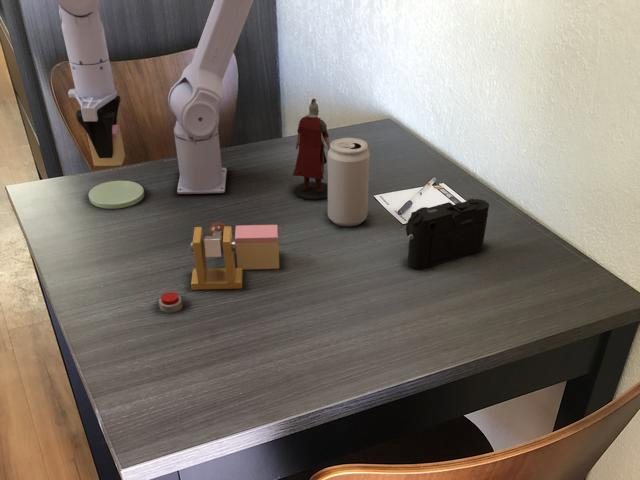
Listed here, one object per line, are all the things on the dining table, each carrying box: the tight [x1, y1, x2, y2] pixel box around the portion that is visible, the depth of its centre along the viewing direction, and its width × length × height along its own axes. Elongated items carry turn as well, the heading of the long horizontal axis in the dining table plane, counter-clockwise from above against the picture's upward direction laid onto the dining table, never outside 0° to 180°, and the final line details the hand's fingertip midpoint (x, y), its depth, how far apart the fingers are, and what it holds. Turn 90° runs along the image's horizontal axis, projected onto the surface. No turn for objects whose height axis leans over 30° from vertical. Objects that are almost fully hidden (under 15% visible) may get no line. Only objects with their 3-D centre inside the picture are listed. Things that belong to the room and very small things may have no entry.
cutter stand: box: [190, 225, 244, 291], centre depth 101 cm, size 4×7×7 cm, turn 94°
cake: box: [234, 224, 280, 271], centre depth 106 cm, size 4×6×5 cm, turn 94°
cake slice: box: [86, 124, 126, 167], centre depth 116 cm, size 4×4×5 cm
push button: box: [158, 291, 183, 314], centre depth 98 cm, size 3×3×2 cm
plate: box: [88, 180, 145, 210], centre depth 122 cm, size 9×9×1 cm
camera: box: [405, 198, 490, 270], centre depth 108 cm, size 14×7×8 cm, turn 120°
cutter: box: [203, 221, 227, 258], centre depth 104 cm, size 13×3×3 cm, turn 4°
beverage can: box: [327, 137, 371, 227], centre depth 113 cm, size 6×6×12 cm
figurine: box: [291, 98, 330, 201], centre depth 119 cm, size 7×7×15 cm
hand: (108, 151), depth 117 cm, fingers closed on cake slice, 4 cm apart
